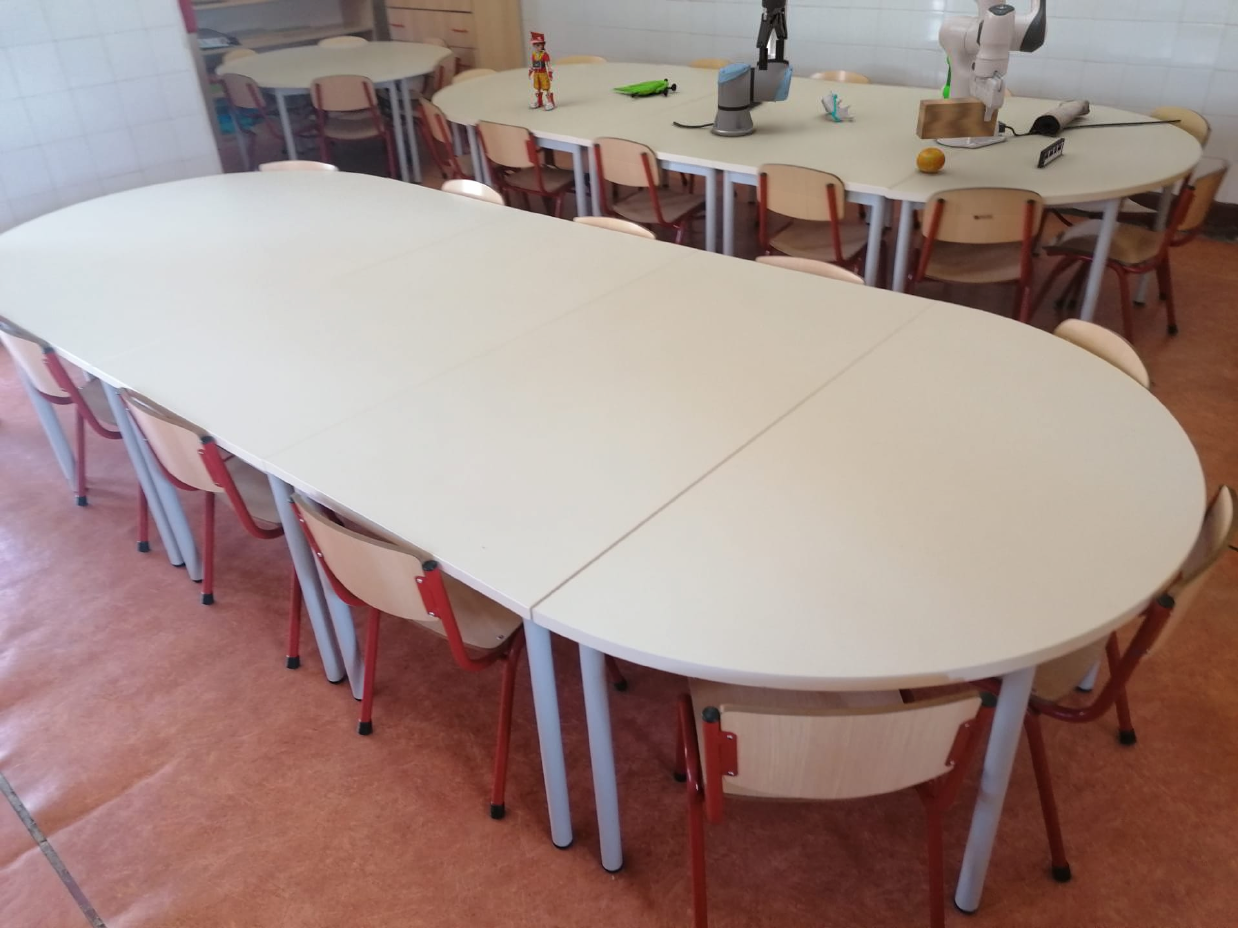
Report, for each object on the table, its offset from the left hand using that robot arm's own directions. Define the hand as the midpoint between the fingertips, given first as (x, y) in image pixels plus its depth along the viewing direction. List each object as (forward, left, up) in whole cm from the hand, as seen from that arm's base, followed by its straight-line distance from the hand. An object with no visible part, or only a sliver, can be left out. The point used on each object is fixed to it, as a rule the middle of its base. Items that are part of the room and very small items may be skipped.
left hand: (771, 66), depth 293 cm
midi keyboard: (+87, +25, -29) cm, 95 cm away
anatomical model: (+5, +55, -29) cm, 63 cm away
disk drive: (-36, +61, -29) cm, 77 cm away
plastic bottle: (+41, +92, -29) cm, 105 cm away
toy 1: (-117, +32, -29) cm, 124 cm away
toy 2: (-90, +70, -29) cm, 117 cm away
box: (+62, -4, -16) cm, 64 cm away
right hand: (+68, 0, -11) cm, 69 cm away
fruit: (+55, +1, -29) cm, 62 cm away
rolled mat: (+83, +69, -29) cm, 112 cm away
